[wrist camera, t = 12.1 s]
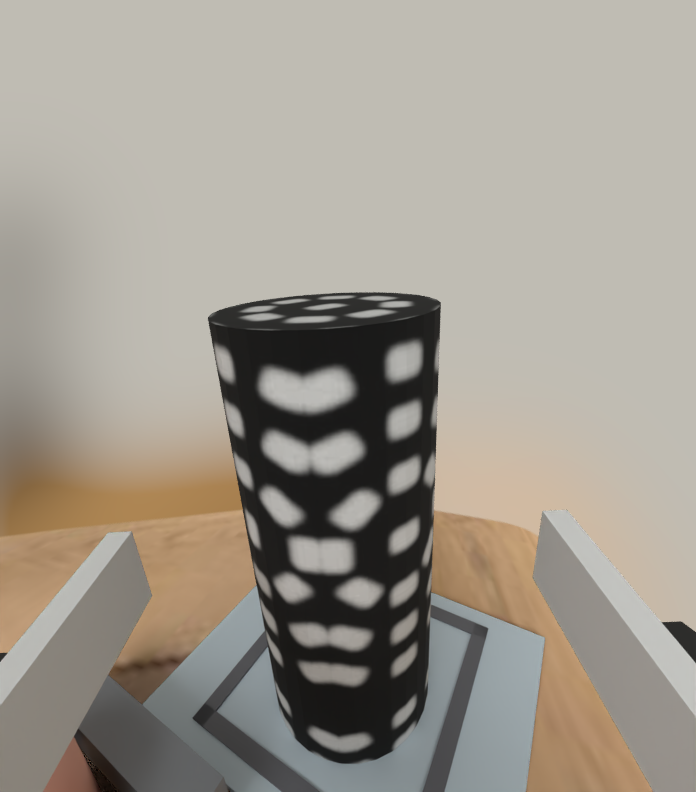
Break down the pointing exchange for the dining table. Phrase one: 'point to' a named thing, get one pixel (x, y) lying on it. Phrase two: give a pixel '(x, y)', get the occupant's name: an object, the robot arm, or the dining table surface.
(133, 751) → the button housing
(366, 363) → the white-spotted black cylinder
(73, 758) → the button
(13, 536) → the dining table surface
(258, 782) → the drawing pad
